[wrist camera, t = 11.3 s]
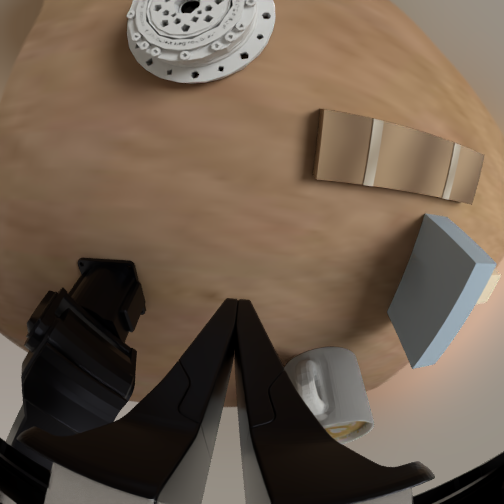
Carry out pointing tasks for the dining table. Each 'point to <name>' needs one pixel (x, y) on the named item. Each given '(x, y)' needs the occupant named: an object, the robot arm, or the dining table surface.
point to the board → (394, 157)
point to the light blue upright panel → (439, 289)
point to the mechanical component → (198, 36)
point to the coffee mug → (333, 391)
